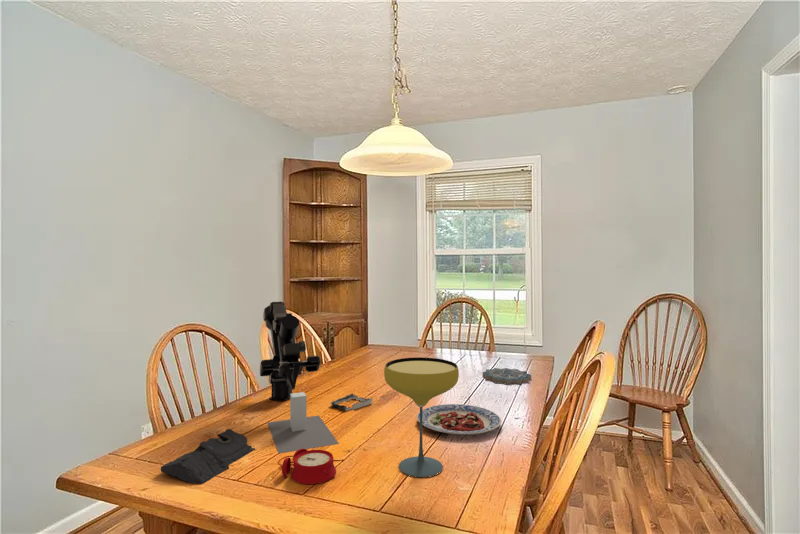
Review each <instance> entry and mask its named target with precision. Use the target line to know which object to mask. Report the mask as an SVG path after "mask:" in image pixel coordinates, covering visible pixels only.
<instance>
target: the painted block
mask: <svg viewBox="0 0 800 534" xmlns="http://www.w3.org/2000/svg"><path fill="white" fill-rule="evenodd" d="M289 402H290V403H289V404H290V407H289V408H290V409H289V413H290V414H289V415H290V416H289V417H290V418H289V419H290V427H291V429H292V431H293V432H294V431H301V430H306V417H307V394H306V393H305V392H304V391H300V392H294V393H293V392H292V393H291V394H290V398H289Z"/></svg>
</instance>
